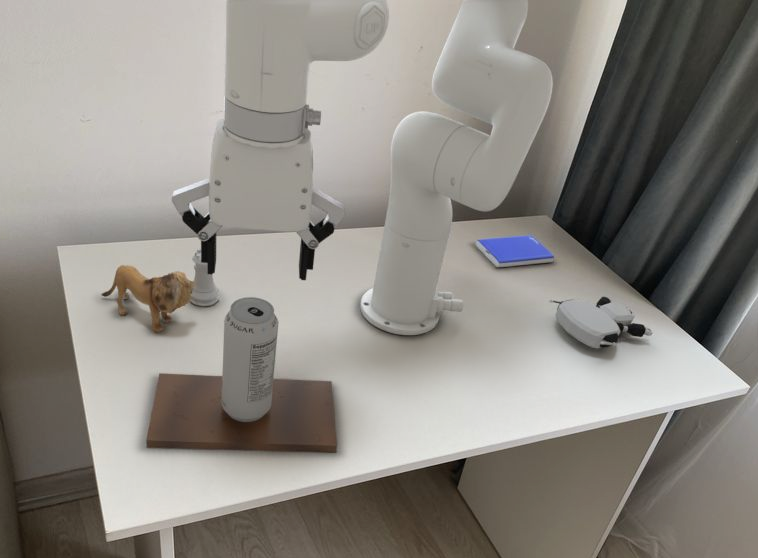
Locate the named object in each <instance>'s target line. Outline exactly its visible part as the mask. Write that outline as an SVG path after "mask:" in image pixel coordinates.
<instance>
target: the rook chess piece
mask: <svg viewBox="0 0 758 558" xmlns="http://www.w3.org/2000/svg"><path fill="white" fill-rule="evenodd" d="M191 259H192V261H193V263H194V266H193V270H194V278H193V282H195V289H194V291H192V294H191V299H190V301H189V302H190V303H192V304H193V305H195V306H198V307H210V306H213V305H214V304H215V303H217V301H218V300H219V298H220V295H219V289H218V286H217V284H216V283H215V281H214V276H213V275H214V274H213V275H212V274H208V268H207V263H201V248H198V249H196V250H195V251H194V254H193V255H192V257H191Z"/></svg>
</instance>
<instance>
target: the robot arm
mask: <svg viewBox="0 0 758 558" xmlns="http://www.w3.org/2000/svg"><path fill="white" fill-rule="evenodd" d="M224 5H225V6H224V74H223V75H224V76H223V77H224V78H223V118H221V119H219V120H217V122H216V124H215V129H214V132H213V138H212V145H211V155H210V165H209V177H207V178H205V179H202V180H199V181H197V182H193V183H191V184H189V185H186V186H183V187H181V188H178V189H175V190H173V192H172V195H171V203H172V204H173V206H174V208H175V209H176V211H177V212H178V214H179V215H180V216H181V220H182V222H183V223H184V224H185V225H186V226H187V227H188V228H190V229H191V230H192V231H193V232H194V233H195V234H196V236H197V239H198V240H199V241H200V249H201V263H207V268H208V274H212V275H214V274H215V273H216V265H217V233H218V232H219V230H220V229H222V228H223V227H224V228H231V229H232V228H233V229H242V230H243V229H244V230H254V231H269V232H281V233H282V232H283V233H296V234H297V235H298V236H299V238H300V246H299V247H300V248H299V257H298V258H299V259H298V278H299V280H300V281H306V280H307V274H308V270H310V271H313V270H314V263H315V253H316V249H318V247H319V245H320V243H322V242H324V240H326V239H327V238H329V237H330V236H332V235H333V234H334V232H335V229H336V228H337V227H338V226H339V225H340V224H341V222H342V221H343V220H344V218H345V217H346V214H347V212H346V206H345V205H344V204H343V203H341V202H339V201H338V200H336V199H334V198H332V197H331V196H329V195H328V194H326V193H324V192H322V191H321V190H319V189H318V188H317V187H314V186H313V183H314V156H313V155H314V150H313V139H312V132H311V130H310V129H309V126H311V127H313V125H315V126H321V121H322V111H321V110H316V109H314V108H313V107H310V104H307V103H308V101H307V100H308V91H309V79H310V67H311V64H312V63H313V62H352V61H355V60H360V59H363V58H364V57H366V56H368V55H370V54H371V53H373V52H374V51H375V50H376V48H378V47H379V45H380V44H381V42H382V41H383V39H384V37H385V35H386V33H387V30H388V27H389V21H390V10H389V5H388V2H387V0H224ZM528 12H529V1H528V0H462V3H461V5H460V8H459V11H458V13H457V15H456V18H455V19H454V22H453V25H452V27H451V29H450V31H449V34H448V36H447V39H446V41H445V44H444V46H443V48H442V51H441V53H440V56H439V58H438V60H437V64H436V66H435V68H434V71H433V74H432V79H431V90H432V94H433V95H434V96H435V97H436V99H437V100H438V101H440V103H442V104H444V105H445V106H447V107H449V108H451V109H453V110H456V111H458V112H460V113H462V114H464V115H465V114H466V115H468V116H470V117H473V118H475V119H477V120H480V121H482V122H485V123H487V124H489V125H492V128H491V131H490V134H488V133H485V132H483V131H481V130H478V129H476V128H473V127H470V126H469V125H467V124H464V123H462V122H460V121H457V120H455V119H453V118H450V117H448V116H445V115H442V114H440V113H436V112H431V111H421V110H420V111H415V112H412V113H410V114H408V115H406V116H404V117H403V119H402V120H400V122H398V124H397V126H396V128H395V130H394V132H393V135H392V139H391V144H390V188H389V197H388V202H387V203H388V204H387V210H386V215H385V220H384V226H383V232H382V236H381V237H382V238H381V242H380V248H379V252H378V253H379V254H378V260H377V265H376V271H375V275H374V276H375V277H374V281H373V287H372V288H370V289H368V290H367V291H365V293H364V294H363V295H362V297H361V299H360V305H359V306H360V308H359V309H360V312H361V315H363V317H364V319H366V320H367V321H368V323H370V324H371V325H373V326H374V327H375V328H378V329H380V330H382V331H385V332H388V333H391V334H395V335H400V336H417V335H422V334H426V333H428V332H430V331H432V330H433V329H434V328H436V326H437V325H438V323H439V320H440V315H441V313H443V311H446V312H447V311H448V312H455V313H462V311H463V309H464V308H463V307H464V303H463V300H462V299H456V298H453V292H451V291H438V289H437V286H438V283H439V278H440V274H441V270H442V267H443V261H444V257H445V253H446V248H447V245H448V241H449V236H450V234H451V233H450V232H451V228H452V223H453V205H452V200H453V201H454V202H457V203H459V204H461V205H463V206H466V207H468V208H471V209H473V210H476V211H479V212H491V211H494V210H495V209H496V208H497V207H499V206H500V205H501V204H502V203H503V202H504V200H506V197H507V196H508V194H509V192H510V191H511V189H512V187H513V184H514V183H515V180H516V179H517V176H518V174H519V171H520V170H521V167H522V166H523V163H524V161H525V159H526V157H527V154H528V153H529V151H530V148H531V146H532V144H533V142H534V140H535V138H536V136H537V133H538V131H539V129H540V127H541V124H542V123H543V121H544V118H545V115H546V113H547V111H548V108H549V105H550V102H551V97H552V94H553V85H554V84H553V83H554V81H553V80H554V79H553V75H552V71H551V69H550V67H549V66H548V65H547V63H545V61H543V60H541V59H539V58H538V57H536V56H533V55H531V54H528V53H526V52H523V51H520V50H517V49H515V46H516V44H517V42H518V39H519V36H520V35H521V31H522V29H523V27H524V25H525V24H526V20H527V17H528ZM206 197H208V212H207V213H206V214H205V215H204V216H203V214H201V213H200V212H199V211H198V210H197V208H195V207H193V205H192V202H195V201H199V200H202V199H203V198H206ZM313 206H314V207H316V208H318V209H319V210H321V211H323V212H325V213H326V214H327V215H326V217H324V218H323V219H322V220H320V221H319V222H317V223H316V224H314V222H312V221H311V216H312V207H313Z"/></svg>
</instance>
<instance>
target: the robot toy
mask: <svg viewBox="0 0 758 558" xmlns="http://www.w3.org/2000/svg"><path fill="white" fill-rule="evenodd" d="M601 296H602V295H601ZM548 301H549V303H556V304H558V305H557V308H556V312H555V319H556V320H557V322H558V324H559V325H560V326H561V327H562V329H563V330H564V331H565V332H566V333H567V334H568V335H570V336H571V337H573V338H574V339H576V340H577V341H578V342H580V343H582V344H583V345H585V346H588V347H589V348H593V349H600V348H601V349H605V348H609V347H610V348H611V347H616V345H617V344H618V341H619V339H620V334H622V333H625V332H626V333H628V334H629V335H631V336H632V337H637V338H643V336H644V335H645V336H647V337H650V336H652V335H653V331H652V330H651V328H649V327H648V326H645V325H644V324H642V323H637V322H633V320H634V318H635V317H636V313H635V312H633V311H632V310H631V309H629V308H628V306H625V305H623V304H621V303H618V302H615V301H612V299H611V298H609V297H607V296H606V295H605V296H602V297H600V298H599V300H597V302H596V305H595V304H593V303H591V302H589V301H588V300H587V301H586V300H584V299H581V298H576V299H574V298H573V299H567V300H561V301H559V300H554V299H549V300H548Z"/></svg>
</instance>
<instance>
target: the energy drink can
mask: <svg viewBox="0 0 758 558" xmlns="http://www.w3.org/2000/svg"><path fill="white" fill-rule="evenodd" d="M279 323H280V322H279V319H278V317H277V315H276V314H275V307H274V306H273V305H272V304H271V302H269V301H268V300H266V299H263V298H260V297H255V296H254V297H253V296H247V297H242V298H239V299H236V300H234V301H233V302H232V303H231V305H230V309H229V311H228V312H227V313H226V315H225V317H224V321H223V345H222V346H223V350H222V375H221V376H222V400H221V403H222V407H223V409H224V410H225V411H226V412H227V414H228V415H229V416H230V417H231V418H233V419H235V420H238V421H242V422H252V421H256V420H258V419H260V418H261V417H263V416H264V415H265V414H266V413H267V412H268V411H269V409H270V407H271V401H272V390H273V379H275V378H274V377H275V366H276V356H277V344H278V334H279Z"/></svg>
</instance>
